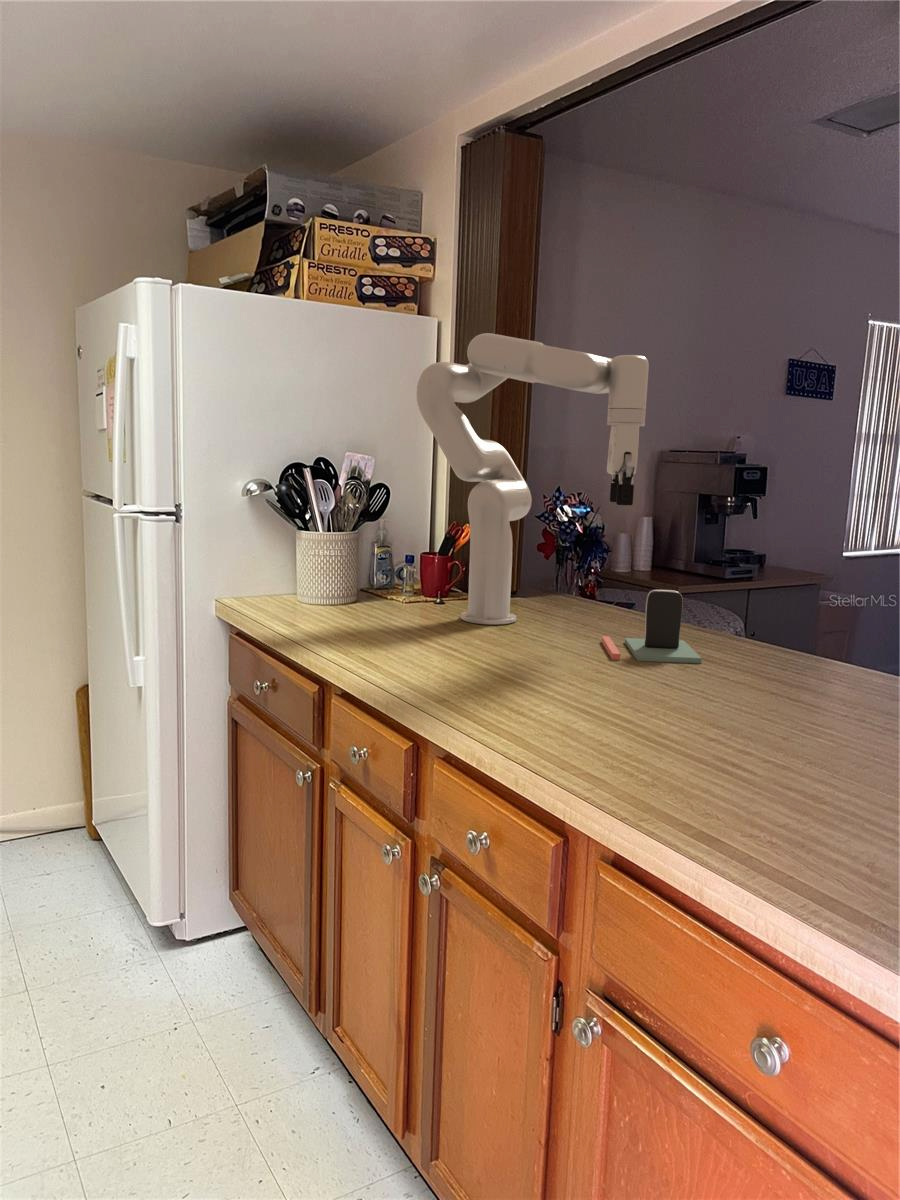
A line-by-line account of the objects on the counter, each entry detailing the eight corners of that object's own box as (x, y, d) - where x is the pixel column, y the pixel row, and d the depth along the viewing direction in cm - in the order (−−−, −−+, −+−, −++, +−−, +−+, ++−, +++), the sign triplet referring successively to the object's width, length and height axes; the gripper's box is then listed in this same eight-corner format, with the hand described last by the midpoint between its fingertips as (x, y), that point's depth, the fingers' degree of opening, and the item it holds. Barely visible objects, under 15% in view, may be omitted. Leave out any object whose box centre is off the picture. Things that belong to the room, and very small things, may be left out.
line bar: (601, 641, 189) (601, 636, 189) (608, 642, 189) (609, 636, 189) (612, 659, 173) (612, 653, 173) (620, 660, 173) (620, 653, 173)
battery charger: (676, 645, 183) (681, 588, 181) (680, 649, 179) (684, 592, 178) (641, 643, 184) (645, 587, 182) (644, 647, 180) (648, 590, 178)
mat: (624, 642, 189) (624, 637, 189) (683, 645, 189) (683, 640, 188) (637, 660, 173) (637, 655, 173) (701, 663, 173) (701, 658, 173)
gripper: (602, 419, 194) (597, 500, 197) (613, 416, 177) (608, 505, 180) (637, 420, 194) (632, 501, 197) (652, 418, 177) (646, 507, 180)
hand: (620, 503), depth 188 cm, fingers open, 9 cm apart
